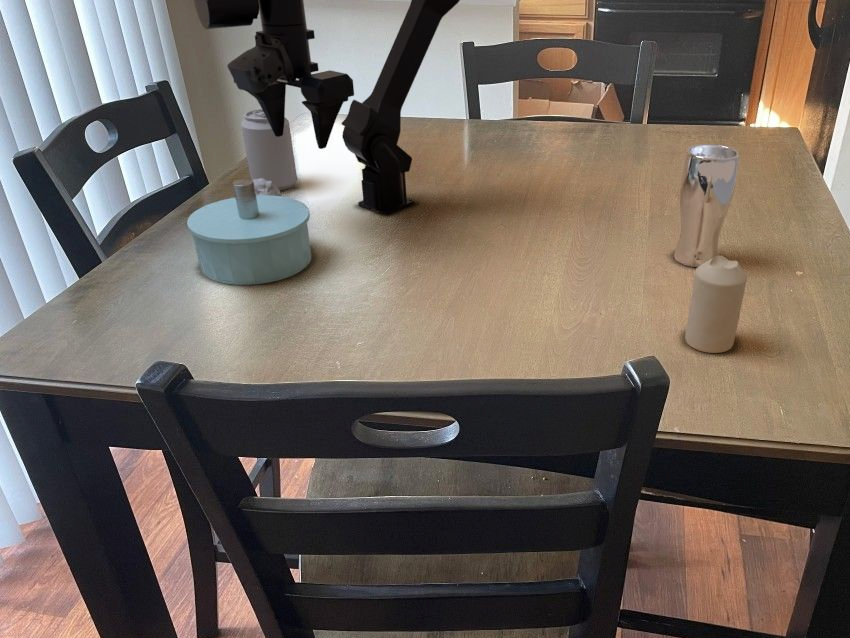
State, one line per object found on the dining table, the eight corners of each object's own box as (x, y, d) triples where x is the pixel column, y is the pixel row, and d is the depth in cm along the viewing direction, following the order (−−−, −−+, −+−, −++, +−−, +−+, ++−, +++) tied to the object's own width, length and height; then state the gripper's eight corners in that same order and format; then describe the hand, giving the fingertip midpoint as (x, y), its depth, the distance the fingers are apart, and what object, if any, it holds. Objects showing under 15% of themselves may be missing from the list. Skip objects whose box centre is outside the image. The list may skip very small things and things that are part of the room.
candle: (679, 330, 90) (691, 251, 85) (724, 328, 91) (739, 250, 85) (692, 354, 86) (706, 273, 80) (740, 352, 86) (757, 271, 80)
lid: (260, 195, 110) (254, 156, 107) (334, 220, 103) (329, 179, 100) (164, 227, 100) (153, 185, 97) (238, 258, 92) (229, 213, 89)
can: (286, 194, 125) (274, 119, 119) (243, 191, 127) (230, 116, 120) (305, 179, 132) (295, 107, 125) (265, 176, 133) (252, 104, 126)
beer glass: (724, 252, 109) (743, 146, 100) (718, 272, 103) (738, 162, 95) (675, 245, 111) (689, 140, 102) (666, 264, 105) (681, 156, 97)
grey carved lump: (251, 235, 111) (242, 188, 108) (239, 219, 116) (230, 174, 113) (292, 227, 114) (285, 181, 110) (279, 212, 119) (271, 167, 115)
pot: (265, 231, 113) (258, 192, 109) (334, 257, 106) (328, 216, 102) (178, 264, 103) (168, 223, 100) (247, 295, 96) (239, 252, 93)
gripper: (187, 22, 100) (211, 142, 108) (281, 39, 91) (300, 169, 99) (257, 12, 107) (275, 126, 116) (350, 27, 98) (362, 149, 107)
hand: (300, 142), depth 109 cm, fingers open, 9 cm apart
